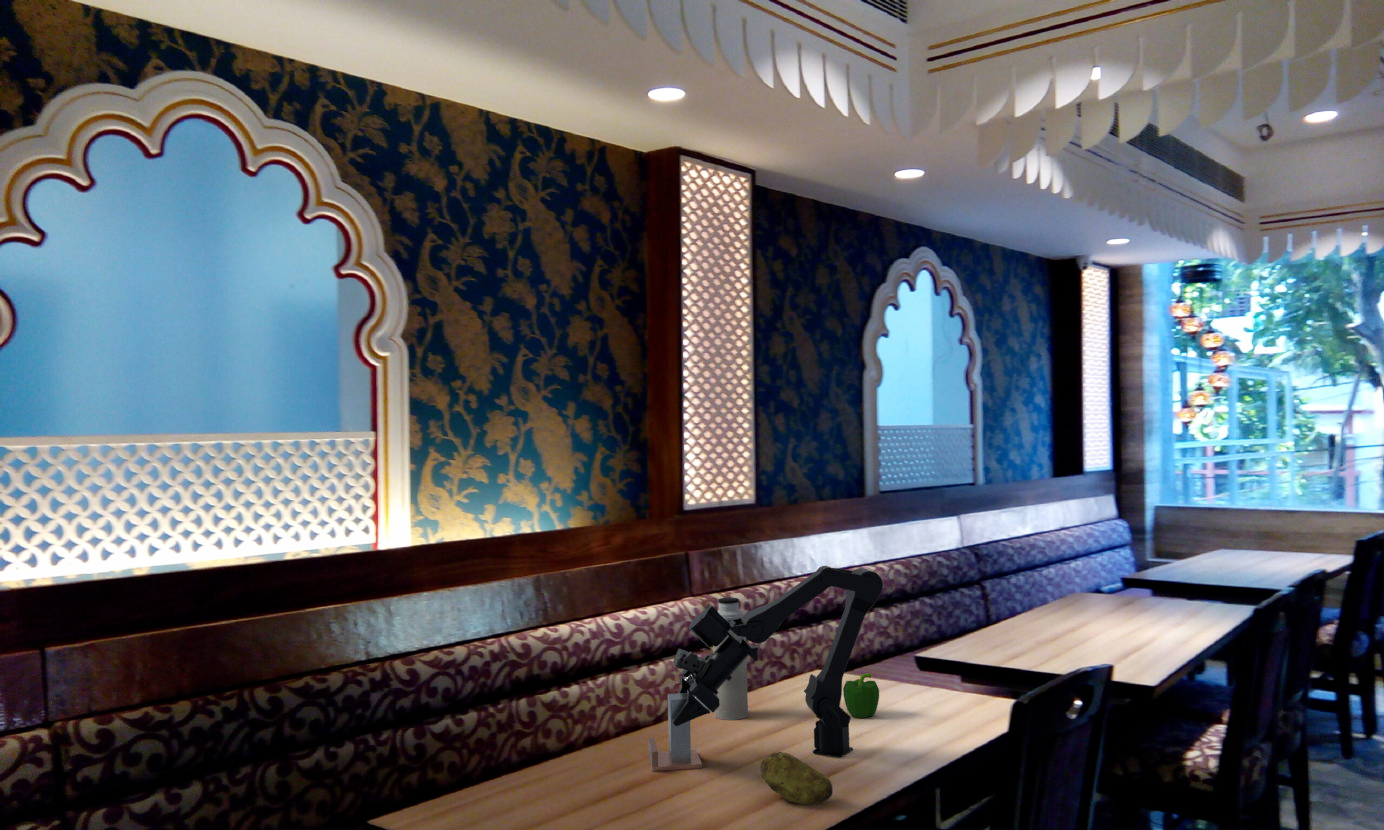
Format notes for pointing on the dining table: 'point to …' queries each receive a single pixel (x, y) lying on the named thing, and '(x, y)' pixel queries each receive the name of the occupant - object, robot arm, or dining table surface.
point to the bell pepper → (861, 697)
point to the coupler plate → (663, 761)
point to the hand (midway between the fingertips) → (672, 718)
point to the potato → (795, 779)
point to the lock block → (678, 730)
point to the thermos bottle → (735, 689)
